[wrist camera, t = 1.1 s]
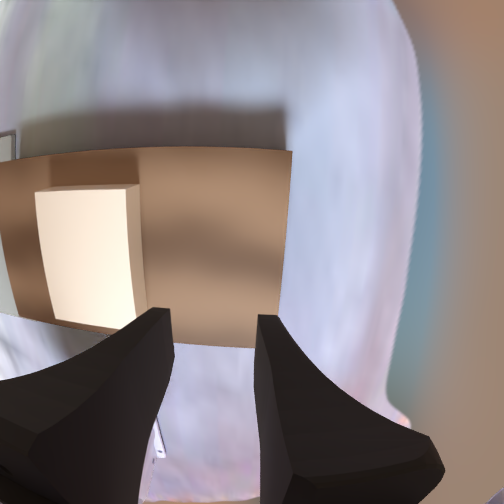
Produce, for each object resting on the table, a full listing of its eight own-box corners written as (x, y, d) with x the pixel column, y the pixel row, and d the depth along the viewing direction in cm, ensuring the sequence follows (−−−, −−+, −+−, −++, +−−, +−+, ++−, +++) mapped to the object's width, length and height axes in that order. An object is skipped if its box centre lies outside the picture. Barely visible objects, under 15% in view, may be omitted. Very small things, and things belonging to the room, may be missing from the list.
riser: (271, 323, 22) (273, 348, 19) (37, 299, 21) (19, 316, 19) (285, 150, 18) (292, 150, 15) (19, 159, 17) (-6, 163, 15)
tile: (148, 314, 18) (138, 331, 16) (69, 304, 18) (55, 318, 16) (139, 184, 15) (125, 189, 14) (53, 186, 15) (34, 192, 13)
